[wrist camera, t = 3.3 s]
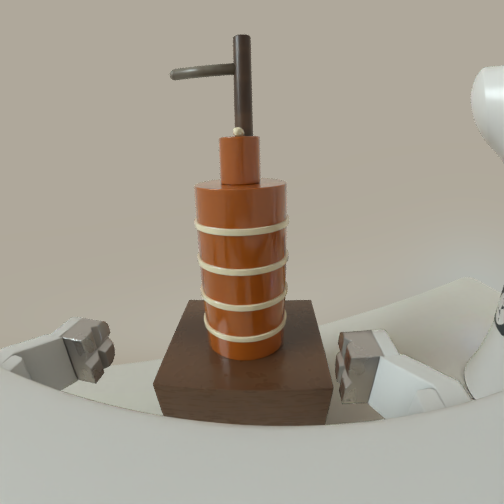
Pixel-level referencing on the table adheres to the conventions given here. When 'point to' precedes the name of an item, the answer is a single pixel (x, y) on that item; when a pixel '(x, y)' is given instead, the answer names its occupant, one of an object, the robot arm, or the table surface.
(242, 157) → the brown banded bottle
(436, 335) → the table surface
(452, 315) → the table surface
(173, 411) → the hanger rack
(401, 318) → the table surface
